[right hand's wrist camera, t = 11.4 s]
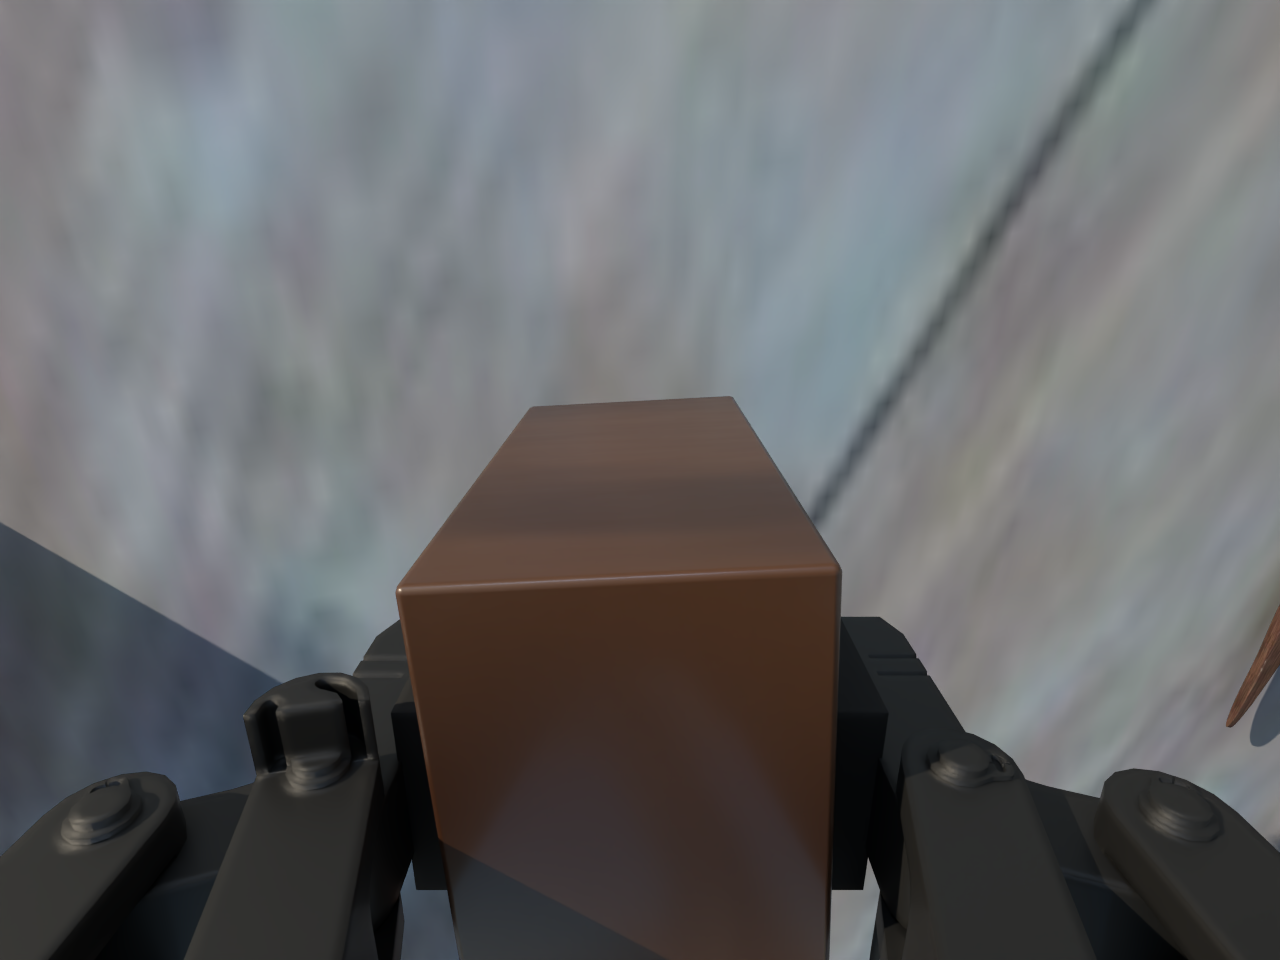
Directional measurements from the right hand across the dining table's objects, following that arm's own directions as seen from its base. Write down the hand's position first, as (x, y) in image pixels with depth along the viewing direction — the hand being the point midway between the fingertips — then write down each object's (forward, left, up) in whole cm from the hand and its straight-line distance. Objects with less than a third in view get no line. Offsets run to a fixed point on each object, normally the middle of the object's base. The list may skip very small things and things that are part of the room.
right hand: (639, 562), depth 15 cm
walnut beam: (-1, +20, 0) cm, 20 cm away
